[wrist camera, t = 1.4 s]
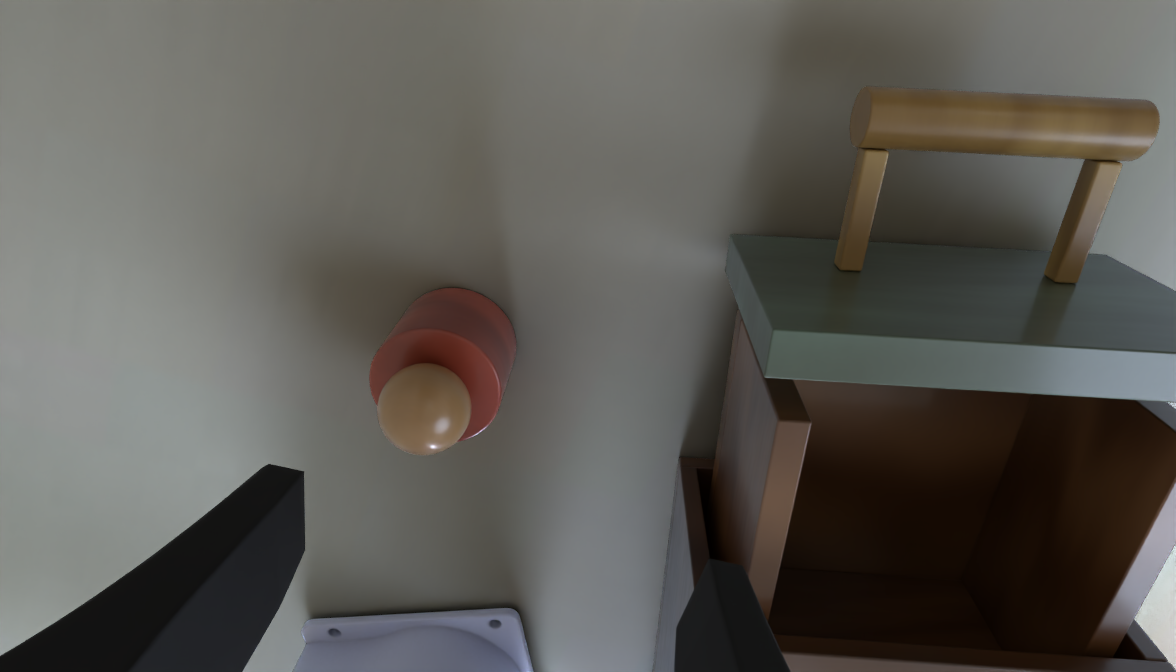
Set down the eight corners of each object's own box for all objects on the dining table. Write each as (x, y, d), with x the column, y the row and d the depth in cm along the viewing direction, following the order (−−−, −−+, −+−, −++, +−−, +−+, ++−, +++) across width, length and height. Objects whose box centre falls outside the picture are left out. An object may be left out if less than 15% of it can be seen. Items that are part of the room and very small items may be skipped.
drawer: (752, 72, 18) (812, 105, 12) (1171, 92, 18) (1438, 136, 12) (685, 557, 26) (702, 722, 20) (978, 577, 26) (1084, 750, 20)
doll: (416, 396, 24) (361, 499, 19) (386, 293, 23) (318, 377, 18) (526, 386, 24) (499, 488, 19) (504, 280, 22) (469, 362, 17)
